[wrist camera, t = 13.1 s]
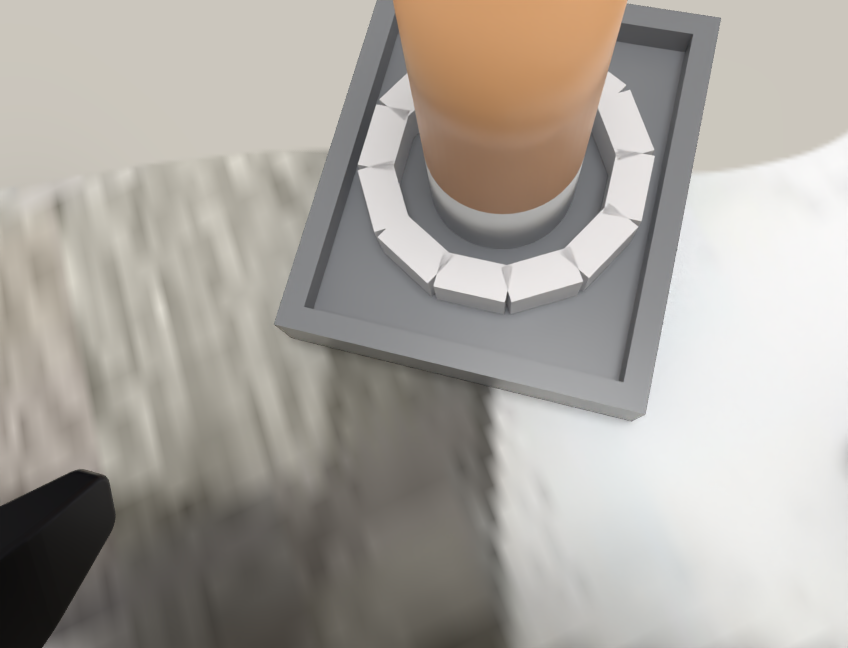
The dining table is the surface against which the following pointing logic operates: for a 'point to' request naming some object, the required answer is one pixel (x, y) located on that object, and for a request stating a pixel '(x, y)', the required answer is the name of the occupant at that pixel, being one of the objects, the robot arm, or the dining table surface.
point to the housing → (517, 267)
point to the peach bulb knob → (506, 106)
